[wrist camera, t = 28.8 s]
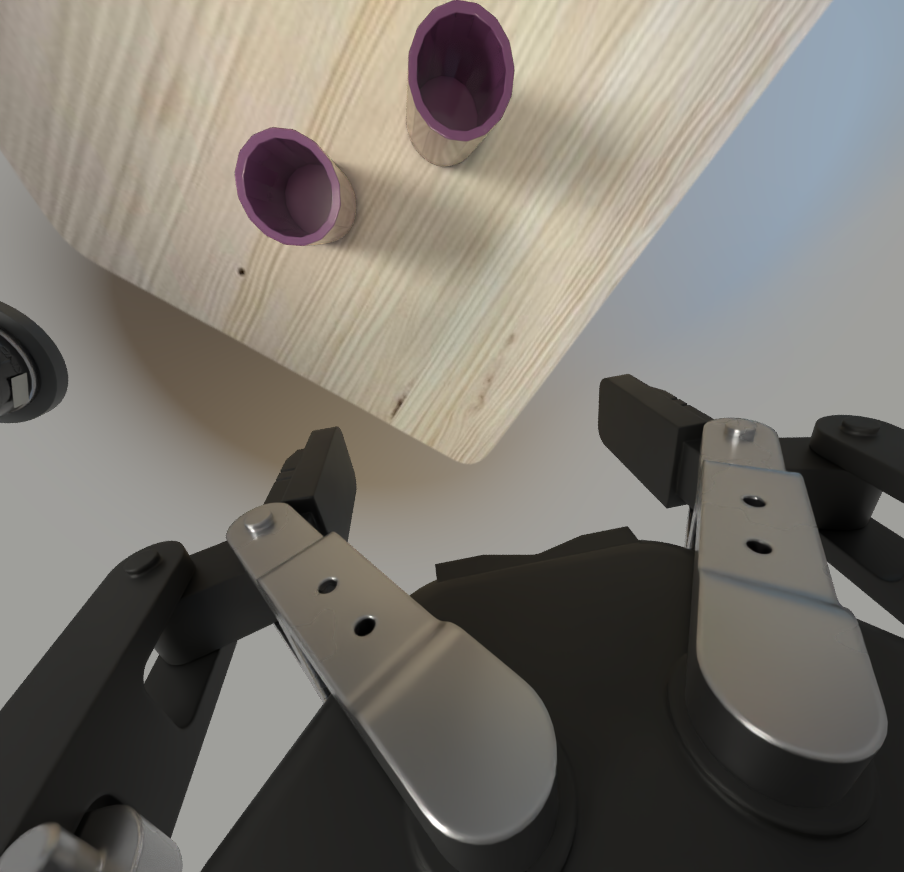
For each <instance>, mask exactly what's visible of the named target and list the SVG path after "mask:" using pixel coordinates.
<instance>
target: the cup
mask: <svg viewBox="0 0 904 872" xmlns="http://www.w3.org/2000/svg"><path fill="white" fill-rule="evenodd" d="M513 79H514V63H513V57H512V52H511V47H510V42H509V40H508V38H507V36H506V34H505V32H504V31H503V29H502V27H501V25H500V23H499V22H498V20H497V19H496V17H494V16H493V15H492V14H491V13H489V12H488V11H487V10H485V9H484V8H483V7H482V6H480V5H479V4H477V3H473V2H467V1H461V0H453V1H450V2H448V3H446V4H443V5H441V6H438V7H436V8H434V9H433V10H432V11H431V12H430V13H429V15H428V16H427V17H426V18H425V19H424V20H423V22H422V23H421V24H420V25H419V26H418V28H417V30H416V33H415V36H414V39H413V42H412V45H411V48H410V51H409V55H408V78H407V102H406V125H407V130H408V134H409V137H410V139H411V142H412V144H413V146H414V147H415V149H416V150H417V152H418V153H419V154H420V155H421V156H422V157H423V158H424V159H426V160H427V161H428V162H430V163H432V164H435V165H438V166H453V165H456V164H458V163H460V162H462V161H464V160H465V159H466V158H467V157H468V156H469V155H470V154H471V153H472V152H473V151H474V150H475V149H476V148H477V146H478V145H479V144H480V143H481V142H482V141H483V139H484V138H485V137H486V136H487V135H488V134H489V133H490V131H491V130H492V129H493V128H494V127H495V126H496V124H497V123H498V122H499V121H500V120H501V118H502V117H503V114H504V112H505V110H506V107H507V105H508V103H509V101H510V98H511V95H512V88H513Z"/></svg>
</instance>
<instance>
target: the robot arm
mask: <svg viewBox="0 0 904 872" xmlns="http://www.w3.org/2000/svg"><path fill="white" fill-rule="evenodd" d="M39 389H40V374H39V370H38V367H37V365H36V363H35V360H34V359H33V357H32V355H31V354H30V353H29V351H28V350H27V349H26V347H25V346H24V345H23V344H22V343H21V342H20V341H19V340H18V339H17V338H16V337H15V336H13V335H12V334H11V333H10V332H8V331H7V330H6V329H4V328H3V327H1V326H0V416H2V415H5V414H7V413H11V412H14V411H16V410H19V409H21V408H23V407H25V406H27V405H29V404H30V403H31V402H32V401H33V400H34V399H35V398H36V396H37V394H38V392H39ZM598 430H599V435H600V438H601V440H602V442H603V444H604V445H605V446H606V447H607V448H608V449H609V450H610V451H611V452H612V453H613V454H614V455H615V456H616V457H617V458H618V459H619V460H620V461H621V462H622V463H623V464H624V465H625V466H626V467H627V468H628V469H629V470H630V471H631V472H632V473H633V474H634V476H636V477H637V479H638V480H639V481H641V483H643V485H644V486H645V487H646V488H647V489H648V490H649V491H650V492H651V493H652V494H653V495H654V496H655V497H656V498H657V499H658V500H659V501H660V502H661V503H662V504H663V505H664V506H665V507H666V508H671V507H676V506H681V505H686V504H688V505H689V511H688V517H687V527H686V537H685V547H681V546H677V545H673V544H669V543H663V542H658V541H647V540H638V539H637V538H636V536H635V535H634V534H633V533H632V531H631V530H630V529H629V527H621V528H616V529H611V530H606V531H601V532H596V533H591V534H586V535H581V536H579V537H576V538H574V539H572V540H569V541H567V542H565V543H563V544H560V545H558V546H556V547H553V548H551V549H549V550H546V551H544V552H542V553H539V554H535V555H480V556H475V557H470V558H465V559H460V560H455V561H450V562H445V563H439V564H435V567H436V576H437V580H435V581H433V582H431V583H429V584H427V585H425V586H423V587H421V588H420V589H418V590H417V591H415V592H414V593H413V594H411V595H410V596H409V595H408V594H407V593H405V592H404V591H403V590H402V589H401V588H400V587H398V586H397V585H396V584H395V583H394V582H393V581H392V580H390V579H389V578H388V577H387V576H386V575H385V574H384V573H382V572H381V571H380V570H379V569H377V567H375V566H374V565H373V564H372V563H371V562H370V561H369V560H367V559H366V558H365V557H364V556H363V555H362V554H360V553H359V552H358V551H357V550H356V549H354V548H353V547H352V546H351V545H350V544H349V543H348V536H349V530H350V524H351V519H352V513H353V507H354V501H355V495H356V479H355V473H354V469H353V466H352V463H351V460H350V457H349V454H348V450H347V447H346V444H345V441H344V437H343V434H342V432H341V430H340V428H339V427H332V428H326V429H321V430H315V431H312V433H311V435H310V437H309V439H308V442H307V444H306V446H305V448H304V449H301V450H297V451H296V452H295V453H294V454H293V455H291V456H290V457H289V458H288V459H287V460H286V461H285V463H284V465H283V467H282V469H281V473H279V475H278V477H277V479H276V482H275V483H274V485H273V487H272V489H271V491H270V493H269V495H268V496H267V499H266V501H265V502H264V504H263V505H262V506H259V507H256V508H254V509H252V510H250V511H248V512H246V513H245V514H243V515H242V516H240V517H239V518H238V519H237V520H236V521H234V522H233V523H232V525H231V526H230V527H229V529H228V531H227V533H226V539H227V541H225V542H222V543H220V544H218V545H215V546H212V547H210V548H207V549H205V550H202V551H199V552H197V553H195V554H192V555H189V554H188V552H187V551H186V549H185V548H184V546H183V545H182V544H181V543H180V542H177V541H166V542H160V543H157V544H153V545H151V546H148V547H146V548H144V549H142V550H140V551H138V552H136V553H134V554H132V555H131V556H129V557H128V558H126V559H125V560H123V561H122V562H121V563H119V564H118V565H117V566H116V567H115V568H114V569H113V570H112V571H111V572H110V573H109V574H108V575H107V577H106V578H105V579H104V581H103V582H102V583H101V584H100V585H99V587H98V588H97V589H96V591H95V592H94V593H93V594H92V596H91V597H90V598H89V599H88V601H87V602H86V603H85V605H84V606H83V607H82V609H81V610H80V611H79V612H78V613H77V615H76V616H75V617H74V618H73V620H72V621H71V622H70V623H69V625H68V626H67V627H66V628H65V630H64V631H63V632H62V634H61V635H60V636H59V637H58V639H57V640H56V641H55V642H54V644H53V645H52V646H51V647H50V649H49V650H48V651H47V652H46V654H45V655H44V656H43V658H42V659H41V660H40V661H39V663H38V664H37V665H36V666H35V668H34V669H33V670H32V672H31V673H30V674H29V675H28V676H27V678H26V679H25V680H24V681H23V683H22V684H21V685H20V687H19V688H18V689H17V690H16V692H15V693H14V694H13V695H12V697H11V698H10V699H9V700H8V702H7V703H6V704H5V706H4V707H3V708H2V709H1V711H0V872H182V856H181V853H180V850H179V848H178V846H177V844H176V843H175V842H174V841H173V840H171V836H172V833H173V830H174V827H175V823H176V821H177V818H178V815H179V812H180V809H181V806H182V803H183V800H184V797H185V794H186V791H187V788H188V785H189V782H190V779H191V776H192V774H193V771H194V768H195V765H196V762H197V759H198V756H199V753H200V750H201V747H202V744H203V741H204V738H205V735H206V732H207V729H208V726H209V723H210V720H211V717H212V715H213V712H214V709H215V705H216V703H217V700H218V697H219V694H220V691H221V688H222V684H223V682H224V679H225V676H226V673H227V670H228V667H229V664H230V661H231V658H232V655H233V652H234V649H235V646H236V644H237V640H239V639H241V638H243V637H245V636H247V635H250V634H252V633H254V632H256V631H258V630H260V629H262V628H264V627H266V626H269V625H271V624H274V626H275V628H276V629H277V630H278V632H279V634H280V635H281V637H282V638H283V640H284V642H285V643H286V645H287V646H288V647H289V649H290V651H291V652H292V654H293V655H294V657H295V658H296V660H297V662H298V663H299V665H300V666H301V668H302V669H303V671H304V672H305V674H306V675H307V677H308V679H309V680H310V682H311V683H312V685H313V687H314V688H315V690H316V692H317V694H318V695H319V697H320V699H321V700H322V702H323V705H322V707H321V708H320V709H319V711H318V712H317V713H316V715H315V716H314V717H313V719H312V720H311V722H310V723H309V724H308V726H307V727H306V728H305V730H304V731H303V732H302V734H301V735H300V736H299V738H298V739H297V741H296V742H295V743H294V745H293V746H292V747H291V749H290V750H289V751H288V753H287V754H286V755H285V757H284V758H283V760H282V761H281V762H280V764H279V765H278V766H277V768H276V769H275V770H274V772H273V773H272V774H271V776H270V777H269V779H268V780H267V781H266V783H265V784H264V785H263V787H262V788H261V789H260V791H259V792H258V794H257V795H256V796H255V798H254V799H253V800H252V802H251V803H250V804H249V806H248V807H247V808H246V810H245V811H244V812H243V814H242V815H241V817H240V818H239V819H238V821H237V822H236V823H235V825H234V826H233V828H232V829H231V830H230V832H229V833H228V834H227V836H226V837H225V838H224V840H223V841H222V843H221V844H220V845H219V846H218V848H217V849H216V851H215V852H214V853H213V855H212V856H211V858H210V859H209V860H208V861H207V863H206V864H205V866H204V867H203V869H202V870H201V872H904V638H901V637H899V636H897V635H894V634H892V633H889V632H887V631H885V630H882V629H880V628H878V627H875V626H873V625H870V624H868V623H866V622H863V621H861V620H859V619H856V618H855V616H854V614H853V613H852V612H851V611H850V610H849V609H848V608H845V607H843V606H842V605H841V604H840V603H839V601H838V599H837V596H836V593H835V589H834V586H833V582H832V578H831V575H830V571H829V568H828V564H827V562H828V563H830V564H831V565H832V566H833V567H835V568H836V569H837V570H838V571H839V572H840V573H842V574H843V575H844V576H845V577H847V578H848V579H849V580H850V581H851V582H853V583H854V584H855V585H856V586H857V587H859V588H860V589H861V590H862V591H864V592H865V593H866V594H867V595H868V596H870V597H871V598H872V599H873V600H874V601H876V602H877V603H878V604H879V605H881V606H882V607H883V608H884V609H885V610H887V611H888V612H889V613H890V614H892V615H893V616H894V617H895V618H896V619H898V620H899V621H900V622H901V623H902V624H904V538H902V537H901V536H899V535H897V534H896V533H894V532H893V531H891V530H890V529H888V528H887V527H885V526H883V525H882V524H880V523H879V522H877V521H876V520H874V519H873V518H871V515H872V513H873V511H874V509H875V506H876V504H877V502H878V500H879V498H880V496H881V494H882V491H883V492H885V493H886V494H888V495H890V496H892V497H894V498H895V499H897V500H899V501H901V502H902V503H904V429H901V428H899V427H897V426H894V425H892V424H889V423H886V422H883V421H880V420H876V419H872V418H867V417H861V416H852V415H832V416H827V417H823V418H820V419H818V420H817V422H816V424H815V427H814V430H813V433H812V436H811V437H801V438H800V437H799V438H779V437H778V434H777V432H775V430H774V429H772V428H771V427H769V426H767V425H765V424H762V423H760V422H757V421H753V420H748V419H741V418H720V419H715V420H714V419H712V418H711V417H709V416H707V415H706V414H704V413H702V412H701V411H699V410H697V409H696V408H694V407H692V406H690V405H687V403H685V402H684V401H682V400H680V399H677V397H675V396H673V395H672V394H670V393H668V392H666V391H664V390H661V389H657V388H653V387H650V386H648V385H647V384H645V383H643V382H642V381H640V380H638V379H637V378H635V377H633V376H632V375H630V374H625V375H620V376H614V377H609V378H604V379H602V381H601V383H600V388H599V414H598ZM154 648H155V650H156V651H157V652H158V653H159V656H158V658H157V660H156V662H155V664H154V666H153V668H152V669H151V671H150V673H149V675H148V677H147V679H146V681H145V683H144V681H143V675H144V669H145V665H146V662H147V660H148V658H149V656H150V655H151V652H152V651H153V649H154Z"/></svg>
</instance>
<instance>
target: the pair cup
mask: <svg viewBox="0 0 904 872" xmlns="http://www.w3.org/2000/svg"><path fill="white" fill-rule="evenodd" d="M235 181H236V187H237V194H238V198H239V200H240V202H241V204H242V206H243V208H244V210H245V212H246V214H247V216H248V218H250V220H251V221H252V222H253V223H254V224H255V225H256V226H257V227H258V228H259V229H260V230H261V231H262V232H263V233H264V234H265V235H266V236H268V237H270V238H272V239H274V240H276V241H278V242H280V243H282V244H285V245H296V246H308V245H318V244H327V243H331V242H334V241H337V240H339V239H341V238H342V237H344V236H345V235H346V234H347V233H348V232H349V230H350V229H351V227H352V225H353V223H354V220H355V217H356V208H357V205H356V197H355V193H354V190H353V188H352V186H351V184H350V181H349V179H348V178H347V177H346V176H345V175H344V173H343V172H342V171H341V170H340V169H339V167H338V166H337V165H336V164H335V163H334V162H333V161H332V160H331V159H330V158H329V157H328V155H327V154H326V153H325V152H324V151H323V150H322V149H321V148H320V147H319V146H318V145H317V144H316V142H314V141H313V140H311V139H310V138H308V137H306V136H304V135H303V134H301V133H299V132H297V131H296V130H293V129H285V128H276V127H272V128H268V129H266V130H263V131H261V132H258V133H256V134H254V135H252V136H251V137H250V139H249V140H248V141H247V142H246V144H245V145H244V146H243V147H242V149H241V150H240V152H239V155H238V160H237V164H236V169H235Z"/></svg>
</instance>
